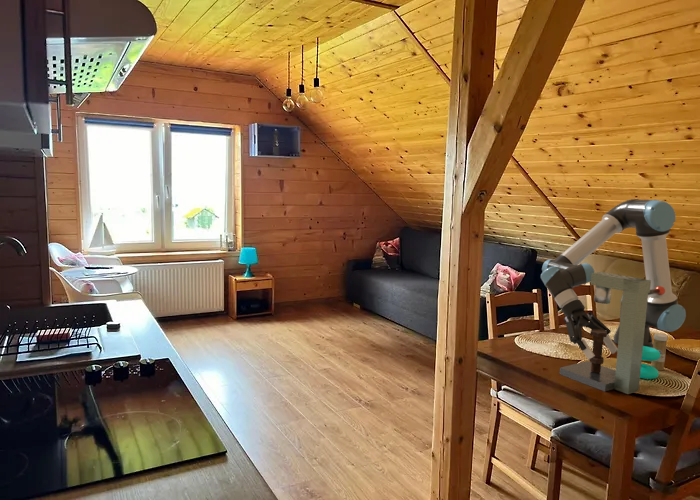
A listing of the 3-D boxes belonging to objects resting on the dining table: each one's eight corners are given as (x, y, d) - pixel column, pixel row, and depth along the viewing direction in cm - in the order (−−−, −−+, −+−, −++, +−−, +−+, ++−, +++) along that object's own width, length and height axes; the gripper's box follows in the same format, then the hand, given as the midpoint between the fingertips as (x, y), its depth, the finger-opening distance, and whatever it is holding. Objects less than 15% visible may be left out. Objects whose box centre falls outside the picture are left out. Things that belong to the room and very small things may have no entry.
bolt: (602, 375, 184) (605, 333, 182) (586, 372, 187) (590, 331, 185) (604, 370, 189) (607, 330, 187) (589, 368, 192) (592, 327, 190)
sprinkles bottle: (652, 370, 198) (655, 335, 197) (648, 366, 203) (652, 332, 201) (665, 371, 197) (669, 336, 196) (662, 367, 202) (665, 333, 200)
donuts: (663, 348, 192) (658, 355, 185) (660, 375, 194) (655, 382, 186) (633, 343, 199) (626, 349, 191) (630, 368, 200) (624, 375, 192)
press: (559, 374, 192) (567, 271, 187) (600, 363, 204) (608, 267, 199) (620, 397, 172) (631, 283, 167) (661, 384, 184) (672, 277, 179)
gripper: (584, 306, 205) (617, 354, 194) (541, 313, 192) (573, 365, 181) (597, 295, 200) (632, 344, 189) (554, 301, 187) (588, 355, 176)
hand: (603, 354), depth 185 cm, fingers open, 13 cm apart
